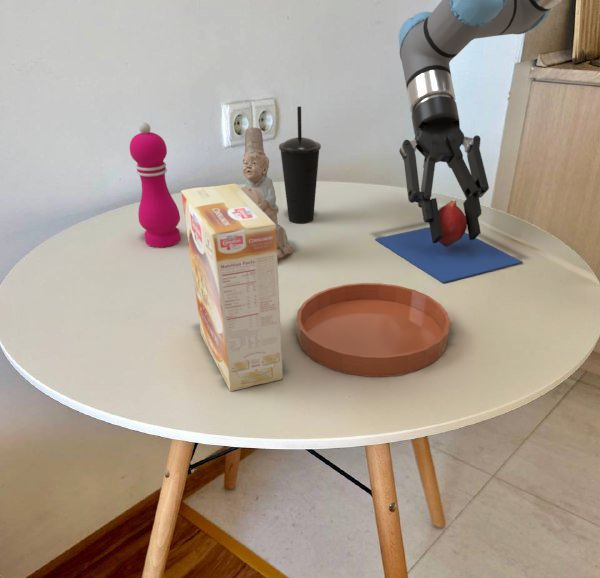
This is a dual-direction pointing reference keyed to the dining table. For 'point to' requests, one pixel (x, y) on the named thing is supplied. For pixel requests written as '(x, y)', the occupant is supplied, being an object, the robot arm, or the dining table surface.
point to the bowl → (372, 329)
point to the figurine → (262, 185)
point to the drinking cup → (300, 175)
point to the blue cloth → (447, 255)
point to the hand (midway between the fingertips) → (456, 237)
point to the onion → (451, 223)
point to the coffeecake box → (235, 283)
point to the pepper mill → (154, 190)
